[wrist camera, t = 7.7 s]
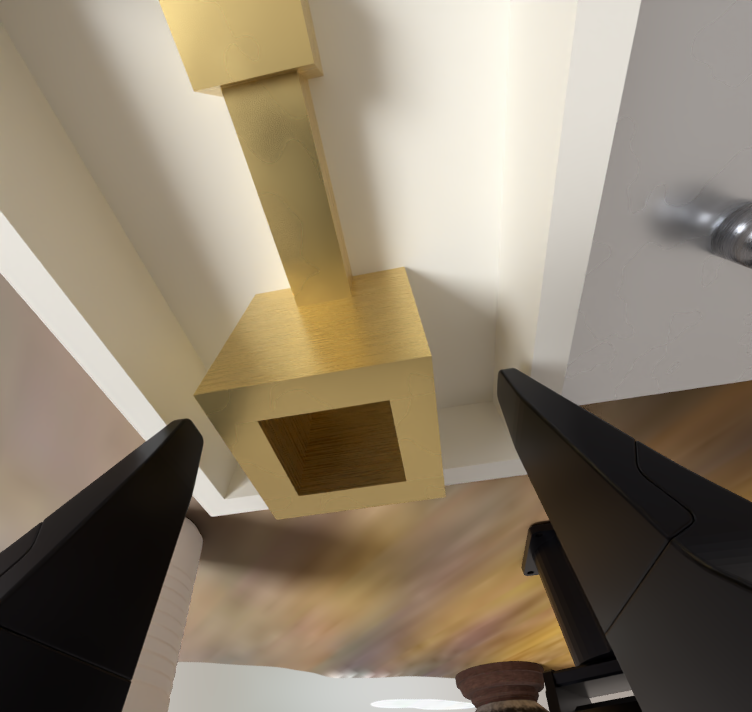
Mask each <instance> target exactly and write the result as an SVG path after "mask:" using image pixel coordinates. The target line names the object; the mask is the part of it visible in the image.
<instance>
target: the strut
mask: <svg viewBox="0 0 752 712" xmlns="http://www.w3.org/2000/svg"><path fill="white" fill-rule="evenodd" d="M159 3H160V6H161V8H162V11H163V13H164V16H165V18H166V21H167V24H168V26H169V29H170V31H171V34H172V36H173V39H174V42H175V44H176V47H177V49H178V52H179V54H180V57H181V60H182V62H183V65H184V67H185V70H186V72H187V75H188V78H189V80H190V83H191V85H192V88H193V90H194V92H199V93H204V94H209V95H215V96H220V97H224V100H225V102H226V105H227V108H228V111H229V114H230V117H231V119H232V122H233V125H234V128H235V131H236V134H237V137H238V139H239V142H240V145H241V148H242V151H243V154H244V156H245V159H246V162H247V165H248V168H249V171H250V174H251V176H252V179H253V182H254V185H255V188H256V191H257V194H258V196H259V199H260V202H261V205H262V208H263V211H264V213H265V216H266V219H267V222H268V225H269V228H270V231H271V233H272V236H273V239H274V242H275V245H276V248H277V250H278V253H279V256H280V259H281V262H282V265H283V268H284V270H285V273H286V276H287V279H288V282H289V285H290V287H291V288H287V289H281V290H276V291H271V292H265V293H260V294H255V296H254V298H253V299H252V301H251V302H250V304H249V306H248V307H247V309H246V310H245V312H244V314H243V315H242V317H241V319H240V320H239V322H238V323H237V325H236V327H235V328H234V330H233V332H232V333H231V335H230V336H229V338H228V340H227V341H226V343H225V344H224V346H223V348H222V349H221V351H220V353H219V354H218V356H217V357H216V359H215V361H214V362H213V364H212V365H211V367H210V369H209V370H208V372H207V374H206V375H205V377H204V378H203V380H202V382H201V383H200V385H199V386H198V388H197V390H196V391H195V393H194V395H193V396H194V397H195V399H196V400H197V402H198V403H199V405H200V406H201V408H202V409H203V411H204V412H205V414H206V415H207V417H208V418H209V420H210V421H211V423H212V424H213V426H214V427H215V429H216V430H217V432H218V433H219V435H220V436H221V438H222V439H223V441H224V442H225V444H226V445H227V447H228V448H229V450H230V451H231V453H232V454H233V456H234V457H235V459H236V460H237V462H238V463H239V465H240V466H241V468H242V469H243V471H244V472H245V474H246V475H247V477H248V478H249V480H250V481H251V483H252V484H253V486H254V487H255V489H256V490H257V492H258V493H259V495H260V496H261V498H262V499H263V501H264V502H265V504H266V505H267V507H268V508H269V510H270V511H271V513H272V514H273V516H274V517H275V519H276V520H279V519H287V518H294V517H301V516H309V515H316V514H324V513H331V512H339V511H346V510H353V509H361V508H368V507H376V506H383V505H390V504H398V503H405V502H413V501H420V500H427V499H435V498H442V497H446V494H445V484H444V474H443V464H442V454H441V444H440V434H439V424H438V414H437V404H436V394H435V384H434V374H433V364H432V355H431V352H430V349H429V345H428V342H427V339H426V335H425V332H424V329H423V326H422V322H421V319H420V316H419V313H418V309H417V306H416V303H415V299H414V296H413V293H412V290H411V286H410V283H409V280H408V276H407V273H406V270H405V267H400V268H394V269H389V270H383V271H378V272H373V273H367V274H362V275H357V276H353V275H352V271H351V267H350V262H349V258H348V253H347V249H346V245H345V240H344V236H343V232H342V227H341V223H340V219H339V214H338V210H337V206H336V201H335V197H334V193H333V188H332V184H331V180H330V175H329V171H328V167H327V162H326V158H325V153H324V149H323V145H322V140H321V136H320V132H319V127H318V123H317V119H316V114H315V110H314V106H313V101H312V97H311V93H310V88H309V84H308V79H312V78H317V77H321V76H324V74H323V70H322V65H321V60H320V55H319V50H318V45H317V41H316V36H315V31H314V26H313V21H312V16H311V12H310V7H309V2H308V0H159Z"/></svg>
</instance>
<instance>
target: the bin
mask: <svg viewBox="0 0 752 712" xmlns="http://www.w3.org/2000/svg"><path fill="white" fill-rule="evenodd" d="M308 2H309V7H310V12H311V16H312V21H313V26H314V31H315V36H316V41H317V45H318V50H319V55H320V60H321V65H322V70H323V74H324V76H321V77H317V78H312V79H308V84H309V88H310V93H311V97H312V101H313V106H314V110H315V114H316V119H317V123H318V127H319V132H320V136H321V140H322V145H323V149H324V153H325V158H326V162H327V167H328V171H329V175H330V180H331V184H332V188H333V193H334V197H335V201H336V206H337V210H338V214H339V219H340V223H341V227H342V232H343V236H344V240H345V245H346V249H347V253H348V258H349V262H350V267H351V271H352V275H353V276H357V275H362V274H367V273H373V272H378V271H383V270H389V269H394V268H400V267H405V270H406V273H407V276H408V280H409V283H410V286H411V290H412V293H413V296H414V299H415V303H416V306H417V309H418V313H419V316H420V319H421V322H422V326H423V329H424V332H425V335H426V339H427V342H428V345H429V349H430V352H431V355H432V364H433V374H434V384H435V394H436V404H437V414H438V424H439V434H440V444H441V454H442V464H443V474H444V484H445V485H452V484H460V483H467V482H475V481H482V480H490V479H497V478H505V477H512V476H520V475H527V472H526V470H525V468H524V466H523V464H522V462H521V460H520V458H519V456H518V454H517V452H516V449H515V447H514V444H513V441H512V439H511V436H510V433H509V430H508V427H507V424H506V421H505V418H504V415H503V413H502V410H501V407H500V404H499V401H498V397H497V381H498V372H499V371H500V370H501V369H507V368H516V369H517V370H519V371H521V372H523V373H524V374H526V375H528V376H529V377H531V378H533V379H534V380H536V381H538V382H539V383H541V384H543V385H544V386H546V387H548V388H550V389H551V390H553V391H555V392H556V393H558V394H560V395H561V393H562V389H563V384H564V379H565V374H566V369H567V364H568V359H569V354H570V349H571V344H572V339H573V334H574V329H575V324H576V320H577V315H578V310H579V305H580V300H581V295H582V290H583V285H584V280H585V275H586V270H587V265H588V260H589V255H590V251H591V246H592V241H593V236H594V231H595V226H596V221H597V216H598V211H599V206H600V201H601V196H602V191H603V186H604V182H605V177H606V172H607V167H608V162H609V157H610V152H611V147H612V142H613V137H614V132H615V127H616V122H617V117H618V113H619V108H620V103H621V98H622V93H623V88H624V83H625V78H626V73H627V68H628V63H629V58H630V53H631V48H632V44H633V39H634V34H635V29H636V24H637V19H638V14H639V9H640V4H641V0H308ZM0 273H1V274H2V275H3V276H4V277H5V279H6V280H7V281H8V282H9V283H10V284H11V285H12V287H13V288H14V289H15V290H16V291H17V292H18V294H19V295H20V296H21V297H22V298H23V299H24V301H25V302H26V303H27V304H28V305H29V306H30V307H31V309H32V310H33V311H34V312H35V313H36V314H37V316H38V317H39V318H40V319H41V320H42V321H43V323H44V324H45V325H46V326H47V327H48V328H49V329H50V331H51V332H52V333H53V334H54V335H55V336H56V338H57V339H58V340H59V341H60V342H61V343H62V345H63V346H64V347H65V348H66V349H67V350H68V352H69V353H70V354H71V355H72V356H73V357H74V358H75V360H76V361H77V362H78V363H79V364H80V365H81V367H82V368H83V369H84V370H85V371H86V372H87V374H88V375H89V376H90V377H91V378H92V379H93V380H94V382H95V383H96V384H97V385H98V386H99V387H100V389H101V390H102V391H103V392H104V393H105V394H106V396H107V397H108V398H109V399H110V400H111V401H112V403H113V404H114V405H115V406H116V407H117V408H118V409H119V411H120V412H121V413H122V414H123V415H124V416H125V418H126V419H127V420H128V421H129V422H130V423H131V425H132V426H133V427H134V428H135V429H136V430H137V431H138V433H139V434H140V435H141V436H142V437H143V438H144V440H145V441H147V440H148V439H150V438H151V437H152V436H154V435H155V434H156V433H158V432H159V431H160V430H162V429H163V428H164V427H165V426H167V425H168V424H169V423H171V422H172V421H174V420H177V419H184V418H188V419H190V420H191V421H192V422H193V423H194V425H195V426H196V428H197V429H198V430H199V432H200V433H201V435H202V436H203V440H204V444H203V449H202V454H201V459H200V463H199V468H198V472H197V477H196V482H195V486H194V490H193V494H192V495H193V496H194V498H195V499H196V500H197V501H198V502H199V503H200V504H201V506H202V507H203V508H204V509H205V510H206V511H207V513H208V514H209V515H210V516H211V517H213V516H221V515H228V514H236V513H243V512H251V511H258V510H266V509H269V508H268V507H267V505H266V504H265V502H264V501H263V499H262V498H261V496H260V495H259V493H258V492H257V490H256V489H255V487H254V486H253V484H252V483H251V481H250V480H249V478H248V477H247V475H246V474H245V472H244V471H243V469H242V468H241V466H240V465H239V463H238V462H237V460H236V459H235V457H234V456H233V454H232V453H231V451H230V450H229V448H228V447H227V445H226V444H225V442H224V441H223V439H222V438H221V436H220V435H219V433H218V432H217V430H216V429H215V427H214V426H213V424H212V423H211V421H210V420H209V418H208V417H207V415H206V414H205V412H204V411H203V409H202V408H201V406H200V405H199V403H198V402H197V400H196V399H195V397H194V396H193V395H194V393H195V391H196V390H197V388H198V386H199V385H200V383H201V382H202V380H203V378H204V377H205V375H206V374H207V372H208V370H209V369H210V367H211V365H212V364H213V362H214V361H215V359H216V357H217V356H218V354H219V353H220V351H221V349H222V348H223V346H224V344H225V343H226V341H227V340H228V338H229V336H230V335H231V333H232V332H233V330H234V328H235V327H236V325H237V323H238V322H239V320H240V319H241V317H242V315H243V314H244V312H245V310H246V309H247V307H248V306H249V304H250V302H251V301H252V299H253V298H254V296H255V294H260V293H265V292H271V291H276V290H281V289H287V288H291V287H290V285H289V282H288V279H287V276H286V273H285V270H284V268H283V265H282V262H281V259H280V256H279V253H278V250H277V248H276V245H275V242H274V239H273V236H272V233H271V231H270V228H269V225H268V222H267V219H266V216H265V213H264V211H263V208H262V205H261V202H260V199H259V196H258V194H257V191H256V188H255V185H254V182H253V179H252V176H251V174H250V171H249V168H248V165H247V162H246V159H245V156H244V154H243V151H242V148H241V145H240V142H239V139H238V137H237V134H236V131H235V128H234V125H233V122H232V119H231V117H230V114H229V111H228V108H227V105H226V102H225V100H224V97H220V96H215V95H209V94H204V93H199V92H194V90H193V88H192V85H191V83H190V80H189V78H188V75H187V72H186V70H185V67H184V65H183V62H182V60H181V57H180V54H179V52H178V49H177V47H176V44H175V42H174V39H173V36H172V34H171V31H170V29H169V26H168V24H167V21H166V18H165V16H164V13H163V11H162V8H161V6H160V3H159V0H0Z"/></svg>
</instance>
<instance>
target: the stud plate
mask: <svg viewBox="0 0 752 712" xmlns="http://www.w3.org/2000/svg"><path fill="white" fill-rule="evenodd" d="M749 380H752V0H641V4H640V9H639V14H638V19H637V24H636V29H635V34H634V39H633V44H632V48H631V53H630V58H629V63H628V68H627V73H626V78H625V83H624V88H623V93H622V98H621V103H620V108H619V113H618V117H617V122H616V127H615V132H614V137H613V142H612V147H611V152H610V157H609V162H608V167H607V172H606V177H605V182H604V186H603V191H602V196H601V201H600V206H599V211H598V216H597V221H596V226H595V231H594V236H593V241H592V246H591V251H590V255H589V260H588V265H587V270H586V275H585V280H584V285H583V290H582V295H581V300H580V305H579V310H578V315H577V320H576V324H575V329H574V334H573V339H572V344H571V349H570V354H569V359H568V364H567V369H566V374H565V379H564V384H563V389H562V393H561V396H563V397H565V398H566V399H568V400H570V401H571V402H573V403H575V404H577V405H585V404H592V403H599V402H606V401H613V400H619V399H626V398H633V397H640V396H647V395H654V394H660V393H667V392H674V391H681V390H688V389H695V388H701V387H708V386H715V385H722V384H729V383H736V382H742V381H749Z"/></svg>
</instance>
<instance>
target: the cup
mask: <svg viewBox="0 0 752 712" xmlns="http://www.w3.org/2000/svg"><path fill="white" fill-rule="evenodd" d="M202 545H203V539H202V536H201V534H200V533H199V531H198V529H197V527H196V526H195V524H193V523H192V522H191V521H190V520H189V519H187V518H186V517H185V519H184V522H183V525H182V528H181V531H180V534H179V537H178V540H177V544H176V547H175V550H174V553H173V556H172V559H171V562H170V565H169V568H168V571H167V574H166V577H165V580H164V583H163V586H162V589H161V593H160V596H159V599H158V602H157V605H156V608H155V611H154V614H153V617H152V620H151V623H150V626H149V629H148V632H147V635H146V639H145V642H144V645H143V648H142V651H141V654H140V657H139V660H138V663H137V666H136V669H135V672H134V675H133V678H132V680H131V685H130V688H129V691H128V694H127V697H126V701H125V704H124V707H123V710H122V712H168V707H169V702H170V698H169V697H170V694H171V691H172V687H173V680H174V677H175V673H176V666H177V663H178V658H179V652H180V649H181V642H182V639H183V635H184V628H185V625H186V618H187V615H188V611H189V605H190V602H191V595H192V592H193V586H194V583H195V579H196V574H197V569H198V564H199V560H200V555H201V550H202Z"/></svg>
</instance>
